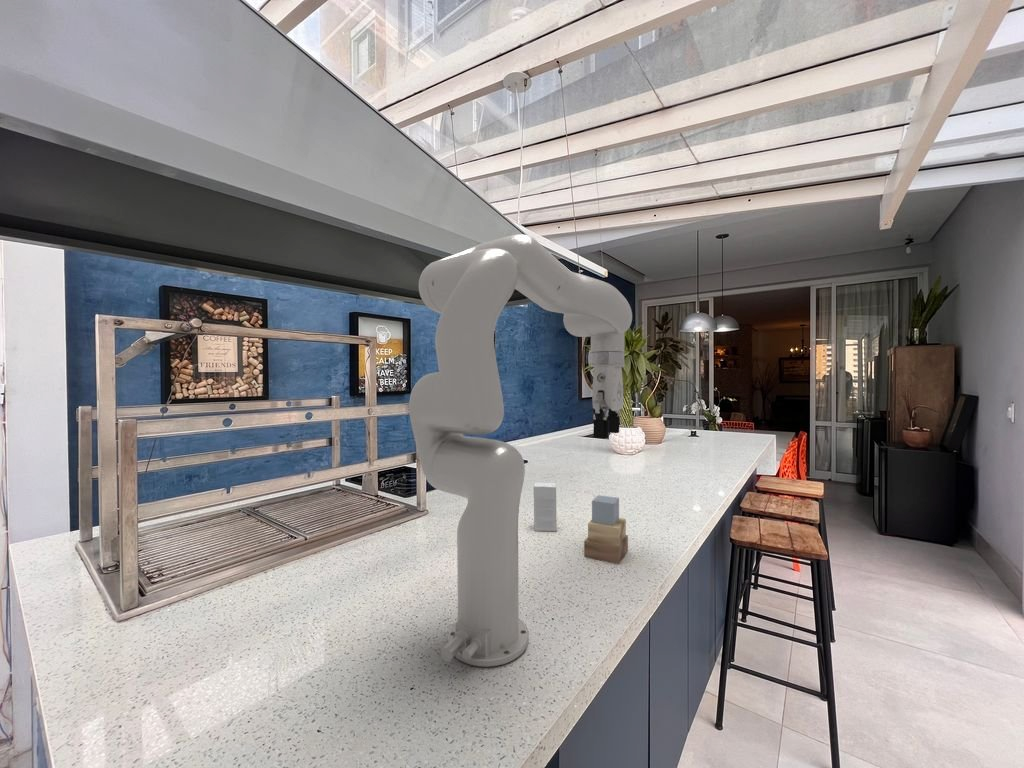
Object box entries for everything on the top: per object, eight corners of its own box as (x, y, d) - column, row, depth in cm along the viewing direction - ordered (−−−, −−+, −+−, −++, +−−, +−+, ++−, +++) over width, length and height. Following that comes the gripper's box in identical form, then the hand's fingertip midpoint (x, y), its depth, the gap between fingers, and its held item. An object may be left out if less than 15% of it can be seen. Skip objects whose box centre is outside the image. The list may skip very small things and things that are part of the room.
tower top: (618, 546, 93) (618, 528, 93) (588, 540, 96) (588, 523, 96) (625, 535, 99) (625, 518, 99) (596, 530, 102) (596, 514, 102)
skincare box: (556, 526, 116) (556, 482, 115) (556, 531, 111) (556, 486, 111) (534, 525, 116) (534, 482, 116) (533, 531, 112) (533, 486, 112)
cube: (613, 526, 94) (613, 503, 94) (592, 522, 97) (592, 500, 97) (618, 519, 99) (619, 497, 99) (598, 515, 101) (598, 495, 101)
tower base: (619, 565, 92) (619, 547, 92) (584, 558, 96) (584, 540, 96) (627, 552, 100) (627, 535, 99) (594, 545, 103) (594, 529, 103)
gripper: (614, 359, 87) (613, 441, 88) (632, 361, 103) (631, 431, 103) (579, 359, 91) (578, 439, 91) (601, 362, 106) (601, 430, 106)
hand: (606, 435), depth 97 cm, fingers open, 9 cm apart
